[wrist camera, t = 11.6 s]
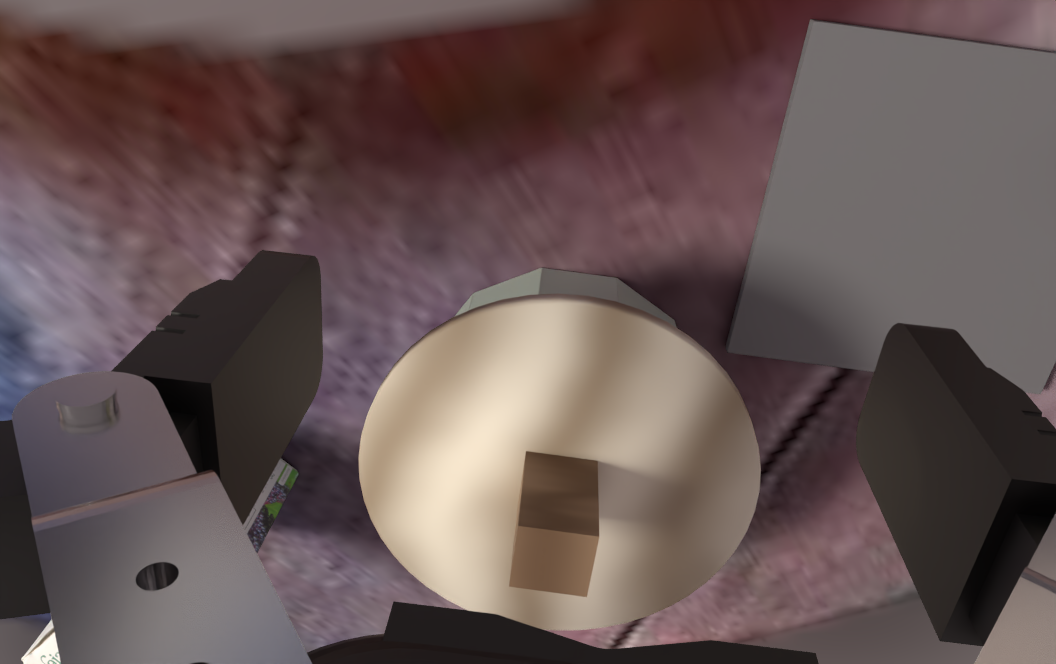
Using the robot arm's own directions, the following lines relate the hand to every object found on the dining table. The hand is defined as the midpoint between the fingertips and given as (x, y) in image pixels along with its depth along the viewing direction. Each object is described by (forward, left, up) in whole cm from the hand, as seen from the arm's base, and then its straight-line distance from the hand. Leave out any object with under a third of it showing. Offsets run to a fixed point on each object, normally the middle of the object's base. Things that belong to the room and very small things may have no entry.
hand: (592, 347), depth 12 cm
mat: (-17, +6, -28) cm, 34 cm away
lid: (-1, +18, -21) cm, 28 cm away
